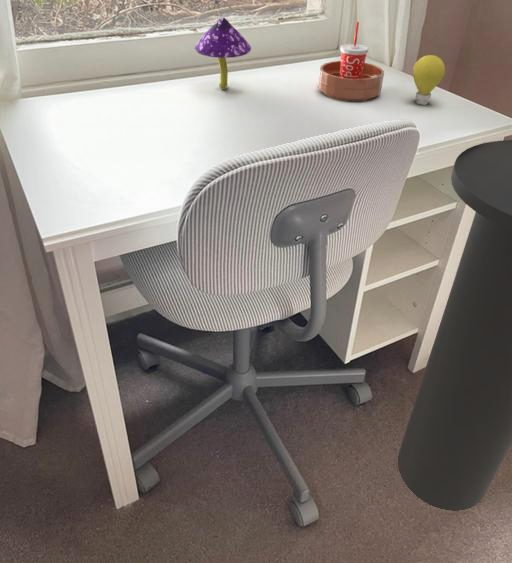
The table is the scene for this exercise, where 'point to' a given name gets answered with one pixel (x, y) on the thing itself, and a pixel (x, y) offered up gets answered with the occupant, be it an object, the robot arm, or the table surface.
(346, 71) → the beverage cup
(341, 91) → the bowl
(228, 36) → the decorative mushroom
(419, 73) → the light bulb
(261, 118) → the table surface
